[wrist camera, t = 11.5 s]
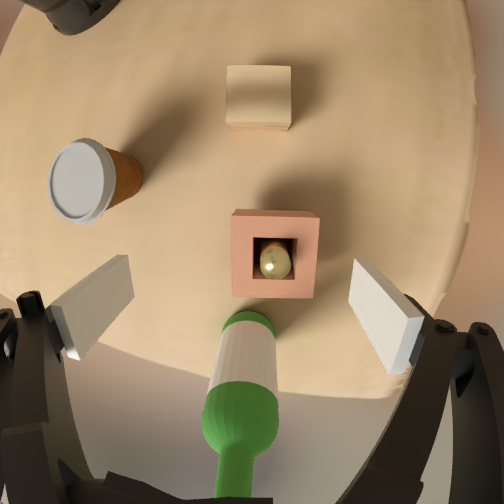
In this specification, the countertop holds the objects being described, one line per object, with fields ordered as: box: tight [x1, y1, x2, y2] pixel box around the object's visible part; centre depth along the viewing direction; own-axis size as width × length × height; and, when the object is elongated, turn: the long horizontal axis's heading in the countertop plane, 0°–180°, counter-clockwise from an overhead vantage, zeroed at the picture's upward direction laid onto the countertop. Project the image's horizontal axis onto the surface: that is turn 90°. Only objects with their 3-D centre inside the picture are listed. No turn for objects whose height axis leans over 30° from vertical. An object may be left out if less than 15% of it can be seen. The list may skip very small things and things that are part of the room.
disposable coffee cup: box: [48, 138, 143, 224], centre depth 29 cm, size 10×10×12 cm
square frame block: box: [231, 209, 320, 298], centre depth 31 cm, size 9×9×5 cm
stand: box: [225, 65, 291, 131], centre depth 28 cm, size 7×7×6 cm
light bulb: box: [254, 237, 292, 280], centre depth 31 cm, size 7×7×10 cm
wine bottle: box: [201, 311, 279, 498], centre depth 26 cm, size 8×8×30 cm
